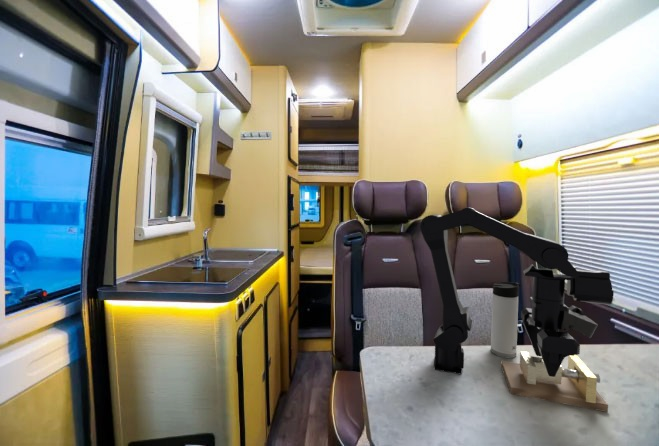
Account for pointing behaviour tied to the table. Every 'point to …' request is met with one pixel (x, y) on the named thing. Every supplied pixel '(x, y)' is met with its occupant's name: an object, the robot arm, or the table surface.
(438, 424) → the table surface
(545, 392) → the copper board
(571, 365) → the gold slab
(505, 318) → the travel mug
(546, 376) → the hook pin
